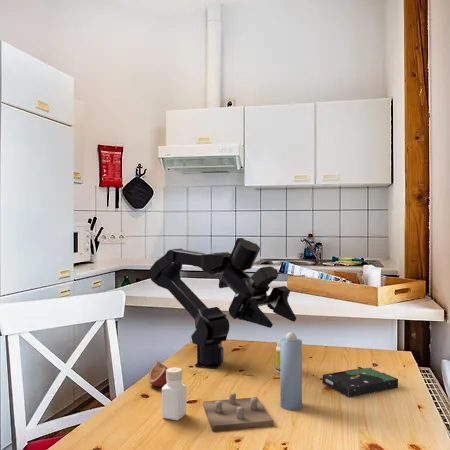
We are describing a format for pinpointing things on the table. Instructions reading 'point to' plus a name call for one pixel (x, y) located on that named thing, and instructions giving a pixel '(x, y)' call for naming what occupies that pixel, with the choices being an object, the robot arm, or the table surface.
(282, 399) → the pepper mill
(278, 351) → the supplement bottle
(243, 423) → the brown pegged base plate
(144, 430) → the table surface
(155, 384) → the fruit slice
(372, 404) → the table surface
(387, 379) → the disk drive
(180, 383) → the white plastic bottle
